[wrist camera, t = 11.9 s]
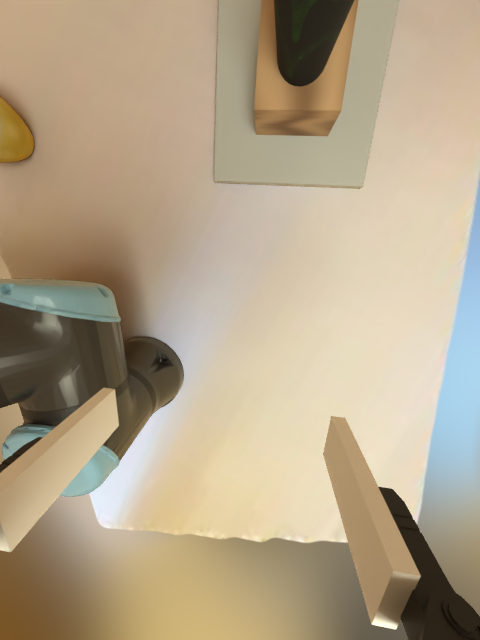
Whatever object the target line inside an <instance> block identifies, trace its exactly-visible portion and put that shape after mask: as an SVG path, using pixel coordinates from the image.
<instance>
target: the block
mask: <svg viewBox="0 0 480 640" xmlns="http://www.w3.org/2000/svg"><path fill="white" fill-rule="evenodd" d="M358 1H359V0H354V2H353V5H352V7H351V9H350V12H349V14H348V16H347V18H346V21H345V23H344V25H343V27H342V30H341V32H340V34H339V36H338V39H337V41H336V43H335V46H334V48H333V50H332V52H331V55H330V57H329V59H328V61H327V64H326V66H325V68H324V70H323V72H322V73H321V74H320V76H319V77H318V78H317V79H316V80H315V81H314V82H312V83H310V84H308V85H306V86H301V87H300V86H293V85H291V84H289V83H288V82H286V81H285V80H284V78H283V77H282V76H281V74H280V71H279V69H278V63H277V48H276V30H275V12H274V0H261V14H260V29H259V44H258V59H257V74H256V90H255V105H254V114H255V126H256V135H286V136H328V135H329V133H330V131H331V129H332V127H333V126H334V124H335V122H336V120H337V118H338V116H339V114H340V112H341V110H342V103H343V97H344V91H345V84H346V78H347V71H348V65H349V59H350V52H351V46H352V40H353V33H354V27H355V20H356V14H357V8H358Z"/></svg>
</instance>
